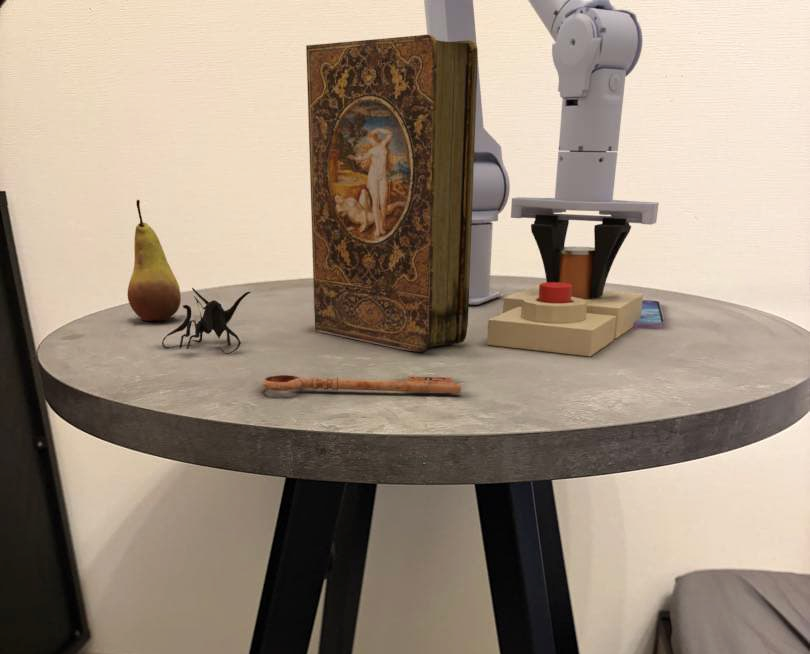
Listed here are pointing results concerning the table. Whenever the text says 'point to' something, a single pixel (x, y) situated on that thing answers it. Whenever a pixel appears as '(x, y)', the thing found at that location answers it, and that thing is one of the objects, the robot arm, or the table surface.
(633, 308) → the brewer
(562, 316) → the panel
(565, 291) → the button
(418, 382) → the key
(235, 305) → the creature
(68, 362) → the table surface
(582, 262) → the cylinder
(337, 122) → the book
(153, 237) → the fruit
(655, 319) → the smartphone
